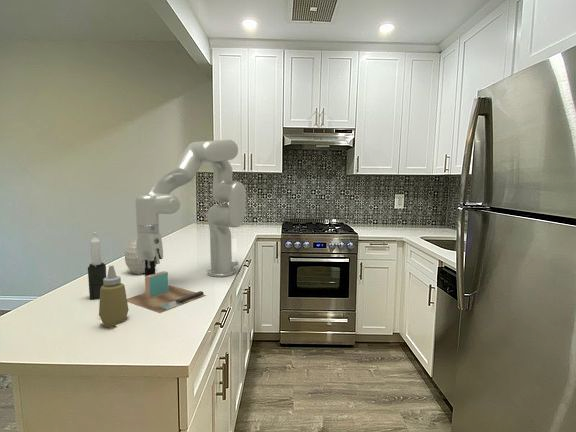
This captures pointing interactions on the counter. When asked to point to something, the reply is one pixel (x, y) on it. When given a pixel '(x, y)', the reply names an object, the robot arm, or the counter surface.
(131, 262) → the vase
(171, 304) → the turner
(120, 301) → the squeeze bottle
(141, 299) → the board
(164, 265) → the counter surface
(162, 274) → the tile
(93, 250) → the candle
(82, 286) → the counter surface
